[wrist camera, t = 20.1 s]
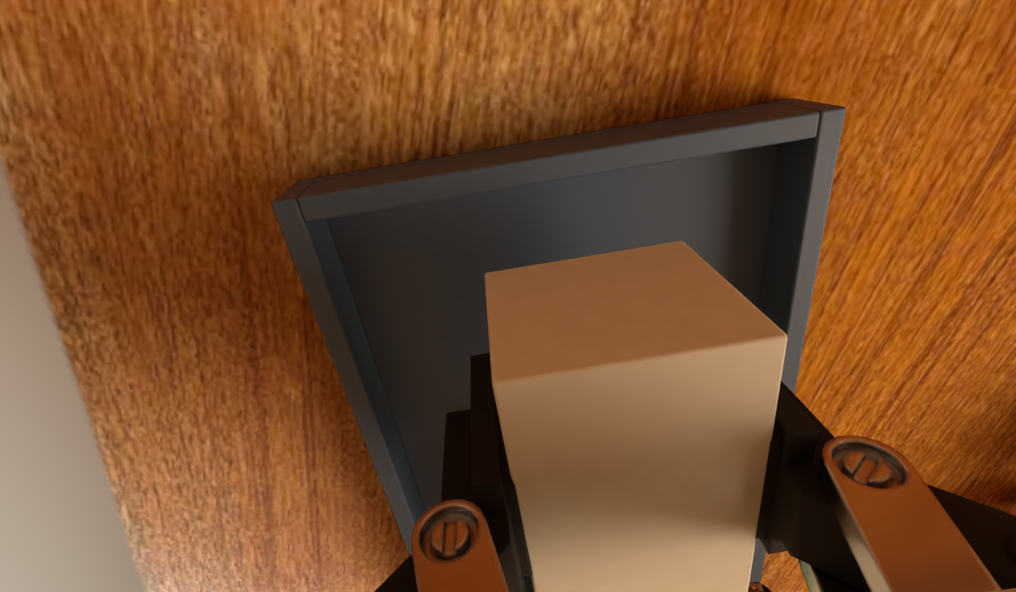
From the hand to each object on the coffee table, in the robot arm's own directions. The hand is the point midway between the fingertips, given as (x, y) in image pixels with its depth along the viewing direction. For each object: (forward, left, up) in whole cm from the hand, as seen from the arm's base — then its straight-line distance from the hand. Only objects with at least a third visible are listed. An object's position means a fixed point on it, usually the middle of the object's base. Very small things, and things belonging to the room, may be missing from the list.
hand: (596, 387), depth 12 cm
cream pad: (0, 0, 0) cm, 0 cm away
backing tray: (0, -4, -4) cm, 5 cm away
